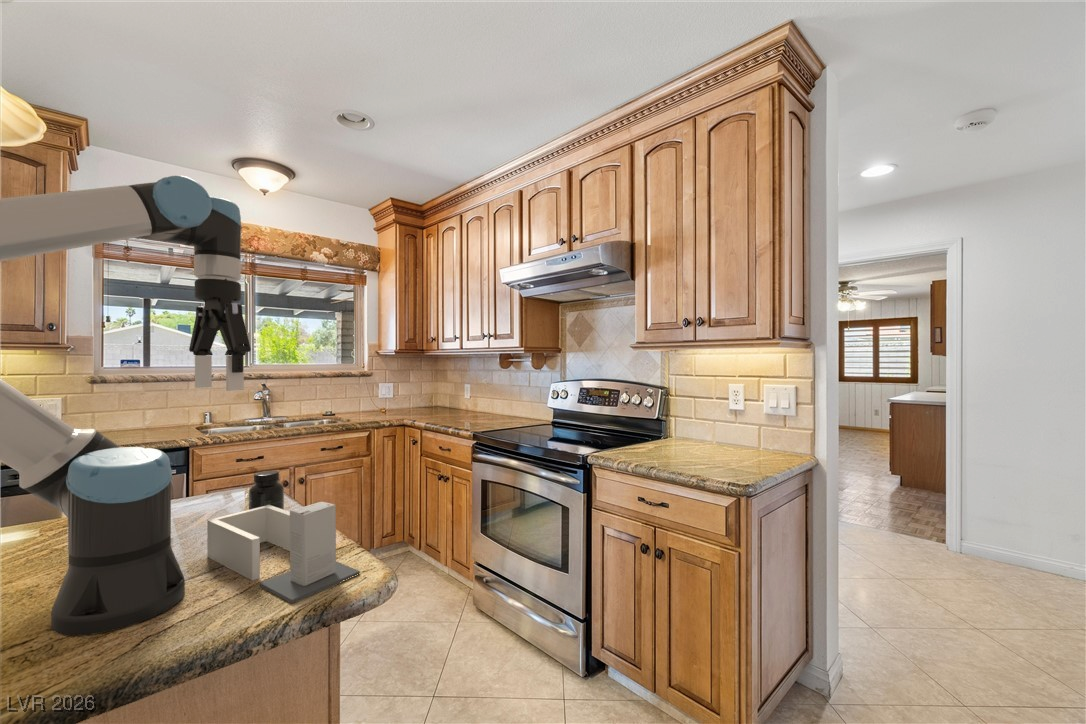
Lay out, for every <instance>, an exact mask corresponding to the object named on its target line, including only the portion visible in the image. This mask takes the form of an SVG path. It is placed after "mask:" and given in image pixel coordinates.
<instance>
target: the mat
mask: <svg viewBox="0 0 1086 724" xmlns="http://www.w3.org/2000/svg"><path fill="white" fill-rule="evenodd" d="M359 573H360V574H361V571H360V570H358V569H356V568H354V567H350V566H348V565H347V564H343V563H341V562H338V561H336V572H335V573H333V574H331V575H329V576H327V577H324V578H322V579H320V580H318V581H315V582H313V583H311V584H309V585H306V586H302V585H299V584H297V583H295V582H293V581H291V580H290V571H287V572H284V573H281V574H279V575H277V576H274V577H271V578H268V579H265V580H263V581H261V582H259V583H258V584H259V587H260V588H261V589H264V590H266V591H268V592H270V593H271V594H273V595H274V596H277V597H279V598H281V599H283V600H285V601H286V602H288V603H290V604H294V603H297V602H299V601H301V600H302V601H303V600H304V599H306V598H308V597H311V596H313V595H315V594H318V593H320V592H322V590H323V591H326V590H327V589H329V587H330V588H332V587H334V586H336V584H337V585H338V583H339V584H341V583H343V582H344V581H343V580H346V579H348V578H350V577H352V576H355V575H357V574H359ZM357 576H358V575H357ZM355 577H356V576H355ZM350 579H351V578H350ZM348 580H349V579H348ZM342 581H343V582H342ZM346 581H347V580H346ZM340 582H341V583H340ZM333 585H334V586H333ZM326 588H327V589H326Z"/></svg>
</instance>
